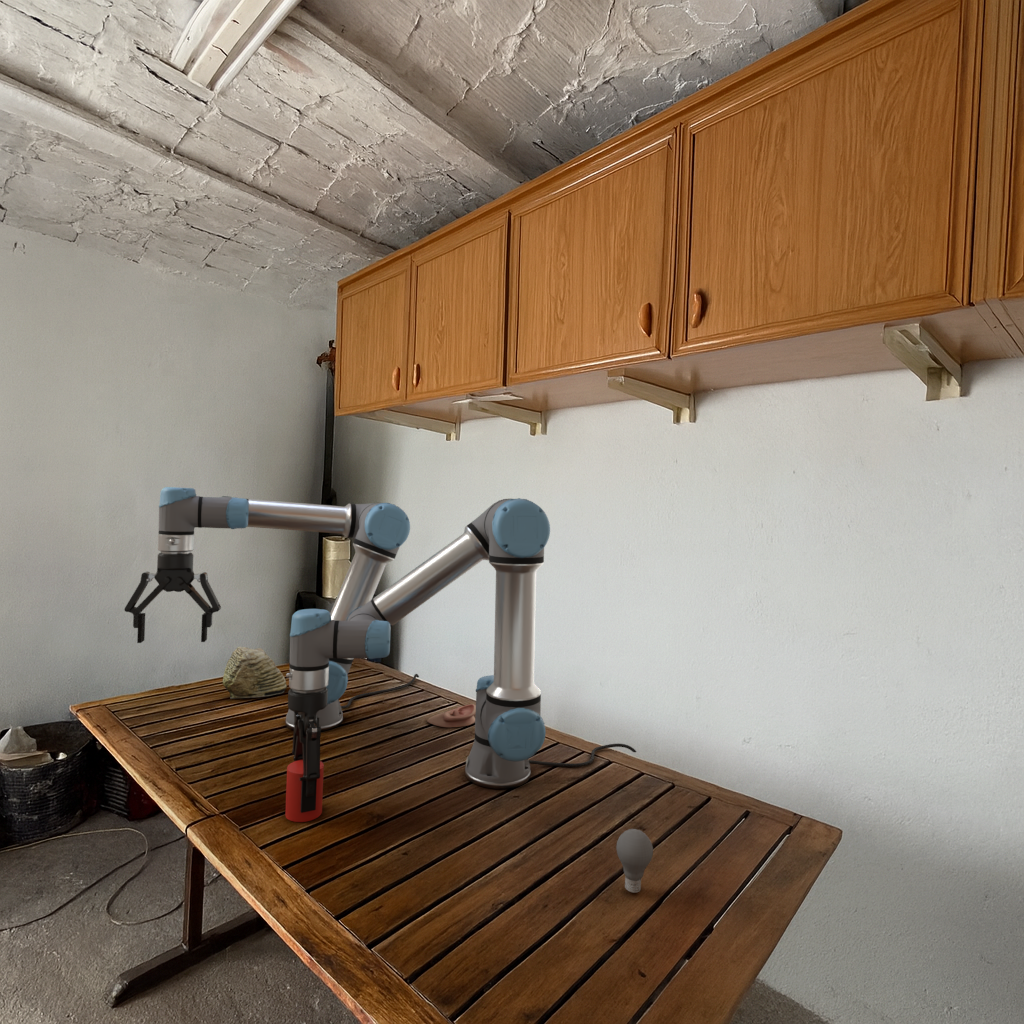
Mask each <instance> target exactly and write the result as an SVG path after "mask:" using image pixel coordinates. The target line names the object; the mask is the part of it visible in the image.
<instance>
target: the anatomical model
mask: <svg viewBox="0 0 1024 1024" xmlns="http://www.w3.org/2000/svg"><path fill="white" fill-rule="evenodd" d="M475 715H476V704H474V703H469V704H465V705H462V706H458V707H456V708H455V707H454V708H453V709H450V710H447V711H444V712H440V713H437V714H434V715H432V716H431V717H430V716H429V718H427V720H426V722H427V723H428V724H431V725H433V726H435V727H436V726H437V727H440V728H459V727H466V726H467V727H468V726H471V725H473V724H475Z"/></svg>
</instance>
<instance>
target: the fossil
mask: <svg viewBox="0 0 1024 1024" xmlns="http://www.w3.org/2000/svg"><path fill="white" fill-rule="evenodd" d="M222 676H223V677H222V685H223V687H224V688H225V690H226V691H228V693H229V698H230V699H250V698H264V697H271V696H275V695H281V694H284V693H285V691H286V689H287V687H288V686H287V680H286V678H285V677H286V676H284V674H283V673H282V672H281V669H279V668H278V667H277V665H276V663H275V662H274V660H273V659H272V658H271V657H270V656H269V655H268V654H267V653H266V652H265V650H264V649H263V648H260V647H258V648H251V647H247V646H246V647H245V646H238V647H237V648H236V649H235V650H233V651H232V653H231V656H230V657H229V659H228V660H227V663H226V666H225V668H224V671H223V675H222Z"/></svg>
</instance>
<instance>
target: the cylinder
mask: <svg viewBox="0 0 1024 1024" xmlns="http://www.w3.org/2000/svg"><path fill="white" fill-rule="evenodd" d="M324 768H325V765H324V762H323V761H321V760H320V778H319V779H317V787H316V810H313V811H308V812H303V813H301V785H302V781H300V777H303V760H298V761H292V762H290V763H289V764H288V765H287V767H286V787H285V788H286V789H285V813H284V814H285V818H286V819H287V820H288V821H290V822H293V823H305V822H310V821H313V820H316V819H317V818H319V817H320V816H321V815H322V813H323V798H324V797H323V795H324V790H323V789H324V771H325V770H324Z"/></svg>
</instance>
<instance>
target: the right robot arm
mask: <svg viewBox="0 0 1024 1024" xmlns="http://www.w3.org/2000/svg"><path fill="white" fill-rule="evenodd" d="M550 535H551V524H550V520H549V517H548V515H547V514H546V512H545V511H544V510H543V508H542V507H541V506H539V505H538V504H537V503H535V502H534V501H532V500H529V499H527V498H520V497H518V498H503V499H500V500H498V501H496V502H494V503H492V505H490V506H489V507H487V508H486V509H485V510H484V511H483V512H482V513H480V515H478V516H477V517H476V518H475V519H474V520H472V521H471V522H470V523H469V524H467V525H466V526H465V527H464V530H463V533H461V535H459V536H458V537H457V538H455V539H454V540H452V541H451V542H449V543H448V544H447V545H446V546H444V547H443V548H440V550H438V551H437V552H435V553H434V554H433V555H431V556H430V557H428V558H427V559H426V560H424V561H423V562H422V563H420V564H419V565H418V566H416V567H415V568H414V569H412V570H411V571H409V572H408V573H406V574H405V575H404V576H402V577H401V578H399V579H398V580H397V581H395V582H394V583H392V584H391V585H390V586H388V587H387V588H386V589H384V590H383V591H381V592H380V593H379V594H377V595H376V596H374V597H373V598H372V600H371V601H369V602H368V603H366V604H365V605H364V606H361V607H358V608H356V609H355V610H353V611H352V612H351V613H350V614H349V616H348V617H347V620H346V621H335V620H331V614H330V613H331V611H329V610H327V609H323V608H322V609H320V608H304V609H298V610H297V611H295V612H294V613H293V614H292V615H291V622H290V623H291V624H290V633H289V668H288V669H289V670H288V671H289V672H287V673H286V674H285V677H286V678H287V679H288V688H290V689H289V690H288V692H287V708H288V710H289V709H290V710H291V711H294V730H293V736H292V750H291V753H292V756H293V762H295V761H298V760H303V777H300V781H302V785H301V813H303V812H308V811H313V810H316V787H317V779H319V778H320V761H321V736H322V731H321V727H319V717H318V718H317V715H316V714H317V712H318V711H319V710H322V709H324V708H325V707H326V706H327V699H328V689H327V688H326V686H327V685H328V680H329V658H354V659H370V660H374V659H382V658H383V659H384V658H387V657H389V655H390V651H391V627H393V626H395V624H396V625H397V623H399V622H400V621H401V620H403V619H404V618H405V617H407V616H409V614H411V613H412V612H414V611H415V610H417V609H418V608H419V607H420V606H422V605H423V604H425V603H426V602H428V601H429V600H430V599H432V598H433V597H434V596H435V595H437V594H438V593H439V592H441V591H442V590H444V589H445V588H447V587H448V586H449V585H451V584H452V583H453V582H455V581H456V580H458V579H459V578H461V576H463V575H464V574H466V573H467V572H469V571H470V570H471V569H473V568H474V567H476V566H477V565H478V564H480V563H481V562H482V561H488V564H490V565H491V567H493V568H494V570H495V594H494V595H495V596H494V597H495V601H494V647H493V651H494V652H493V653H494V654H493V674H491V675H484V676H481V677H480V678H479V679H478V680H477V681H476V688H475V706H476V713H475V714H474V717H475V722H474V738H473V739H474V740H473V743H472V747H471V748H470V752H469V754H468V756H467V757H466V760H465V768H464V775H465V777H466V779H467V781H469V782H471V783H473V784H475V785H476V786H480V787H483V788H488V789H497V790H500V789H501V790H503V789H512V788H517V787H520V786H522V785H524V784H526V783H527V782H529V780H530V778H531V765H540V766H548V767H549V766H550V767H561V768H562V767H563V768H579V767H585V766H590V765H591V764H592V763H593V762H594V760H595V754H596V752H598V751H601V750H605V749H609V748H610V749H611V748H625V749H628V750H630V751H631V752H632V753H637V750H636V749H635V748H634V747H632V746H631V745H628V744H625V743H609V744H604V745H599V746H597V747H595V748H593V749H592V750H591V753H590V759H588V760H587V761H584V762H579V763H576V762H575V763H567V762H566V763H565V762H553V761H552V762H551V761H541V760H532V759H530V758H532V757H534V755H536V754H537V752H539V751H540V750H541V748H542V747H543V744H544V743H545V740H546V734H547V732H546V731H547V730H546V725H545V722H544V719H543V717H542V715H541V711H542V710H541V709H542V708H541V706H542V690H541V689H540V688H539V687H538V685H536V684H535V653H536V612H537V610H536V608H537V606H536V605H537V572H538V570H539V569H540V568H542V566H543V565H544V564H545V548H546V545H547V544H548V541H549V539H550V537H551V536H550Z"/></svg>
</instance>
